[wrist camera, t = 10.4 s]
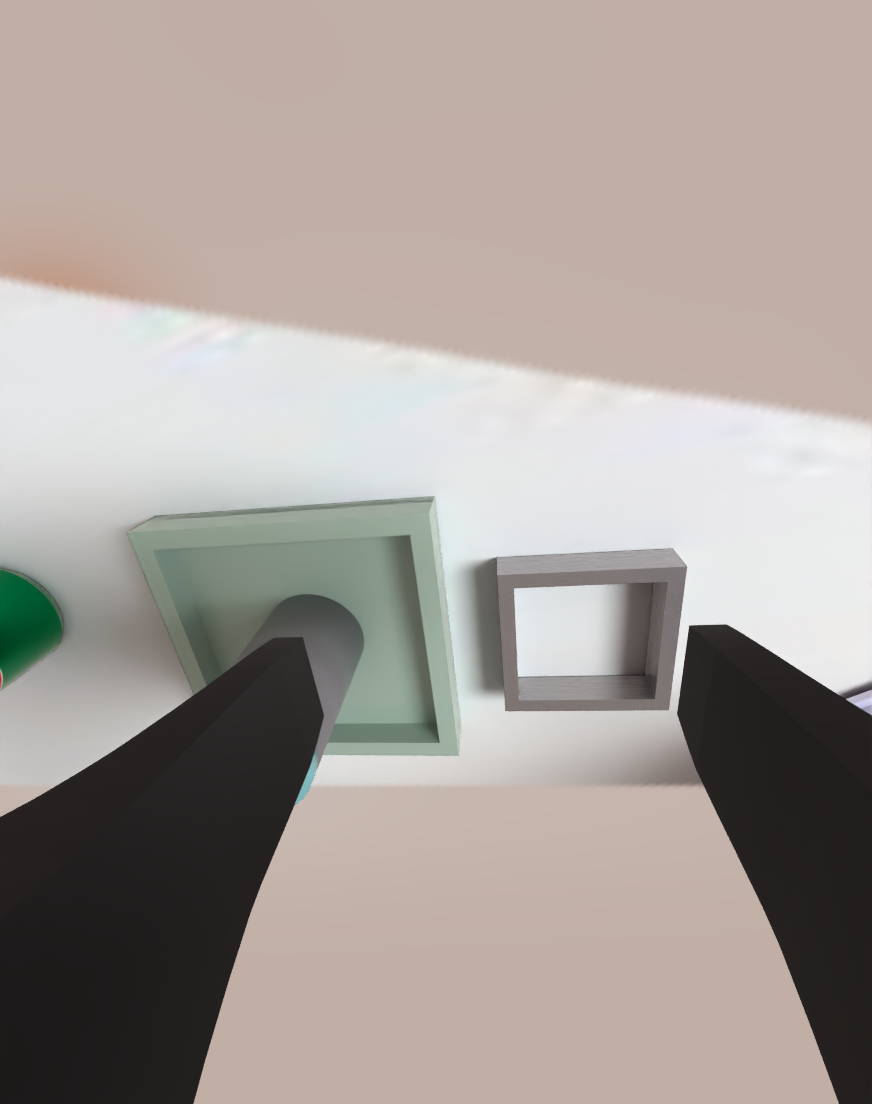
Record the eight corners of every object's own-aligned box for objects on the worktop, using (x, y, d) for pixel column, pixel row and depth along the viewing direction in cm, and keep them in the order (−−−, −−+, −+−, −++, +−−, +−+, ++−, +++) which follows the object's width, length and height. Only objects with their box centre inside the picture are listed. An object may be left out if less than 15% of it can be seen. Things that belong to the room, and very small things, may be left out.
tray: (434, 496, 19) (428, 513, 17) (461, 726, 24) (458, 755, 22) (155, 515, 20) (126, 532, 19) (235, 726, 26) (218, 753, 24)
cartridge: (384, 649, 21) (339, 784, 15) (314, 688, 23) (246, 827, 17) (318, 576, 20) (240, 691, 14) (248, 623, 22) (149, 747, 15)
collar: (672, 548, 19) (686, 566, 17) (657, 685, 22) (668, 710, 20) (496, 557, 20) (497, 575, 18) (504, 687, 22) (505, 711, 21)
